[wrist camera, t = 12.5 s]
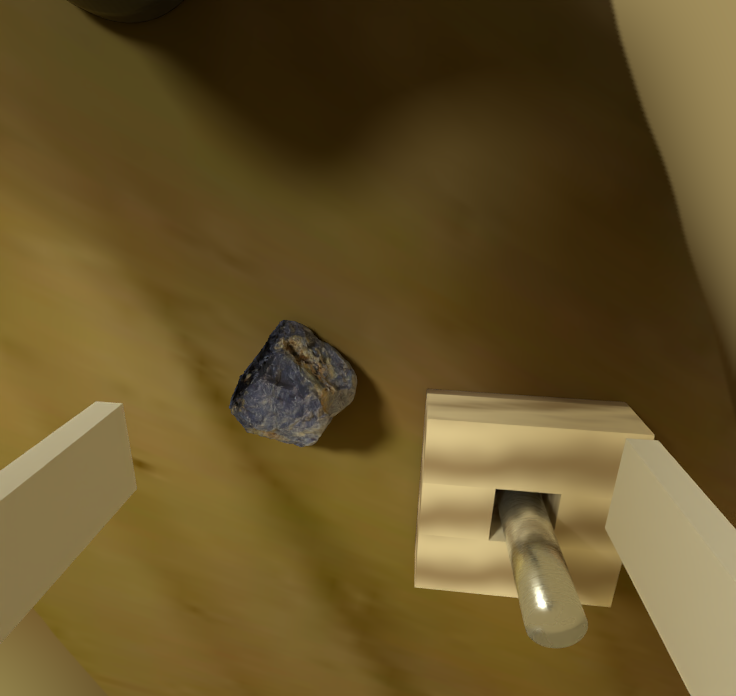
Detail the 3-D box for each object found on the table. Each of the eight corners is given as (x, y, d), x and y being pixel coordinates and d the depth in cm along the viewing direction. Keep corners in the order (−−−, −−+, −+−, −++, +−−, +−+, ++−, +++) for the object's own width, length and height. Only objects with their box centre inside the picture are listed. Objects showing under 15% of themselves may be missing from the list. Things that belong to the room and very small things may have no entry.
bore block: (426, 388, 46) (427, 418, 41) (625, 402, 45) (654, 435, 39) (415, 542, 52) (414, 587, 47) (589, 559, 51) (610, 607, 45)
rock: (264, 299, 42) (268, 389, 35) (360, 337, 48) (381, 421, 41) (212, 376, 48) (207, 465, 41) (303, 402, 53) (313, 485, 46)
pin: (495, 464, 47) (529, 598, 32) (538, 468, 47) (592, 605, 32) (490, 499, 48) (521, 644, 33) (532, 503, 48) (582, 651, 33)
